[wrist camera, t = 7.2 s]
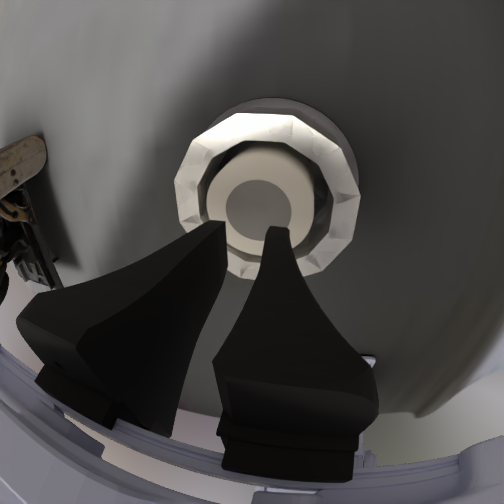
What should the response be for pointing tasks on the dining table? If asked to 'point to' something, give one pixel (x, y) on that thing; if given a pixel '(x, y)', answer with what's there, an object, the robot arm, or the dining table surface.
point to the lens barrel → (298, 137)
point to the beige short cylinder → (263, 195)
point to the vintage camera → (22, 217)
